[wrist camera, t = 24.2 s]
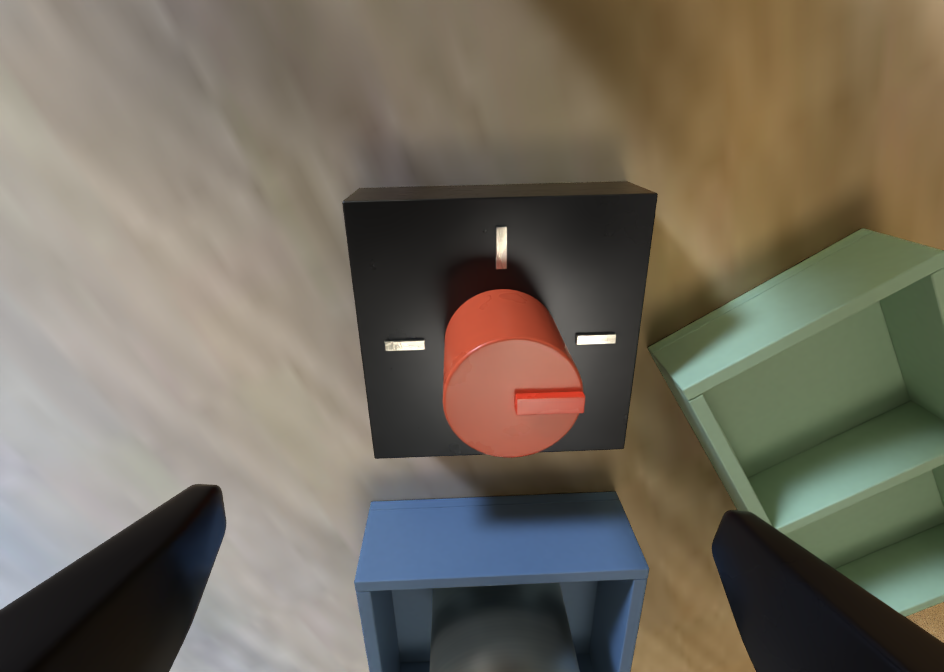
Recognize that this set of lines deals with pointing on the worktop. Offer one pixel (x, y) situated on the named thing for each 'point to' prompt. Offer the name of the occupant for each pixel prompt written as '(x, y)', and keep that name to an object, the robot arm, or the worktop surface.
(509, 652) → the travel mug
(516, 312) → the tap knob
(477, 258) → the black square plate
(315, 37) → the worktop surface
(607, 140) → the worktop surface
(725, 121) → the worktop surface
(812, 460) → the tray
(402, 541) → the basin
